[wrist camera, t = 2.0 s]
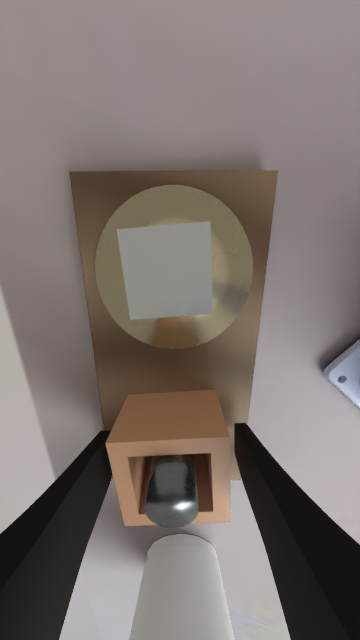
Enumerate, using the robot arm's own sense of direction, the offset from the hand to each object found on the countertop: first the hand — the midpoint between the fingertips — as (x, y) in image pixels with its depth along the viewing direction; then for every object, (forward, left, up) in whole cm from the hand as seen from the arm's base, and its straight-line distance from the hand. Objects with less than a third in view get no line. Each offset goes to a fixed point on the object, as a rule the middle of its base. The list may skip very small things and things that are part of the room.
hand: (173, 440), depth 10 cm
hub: (+6, -7, -2) cm, 9 cm away
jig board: (+3, -4, -2) cm, 5 cm away
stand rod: (0, 0, -2) cm, 2 cm away
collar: (0, 0, -1) cm, 1 cm away
